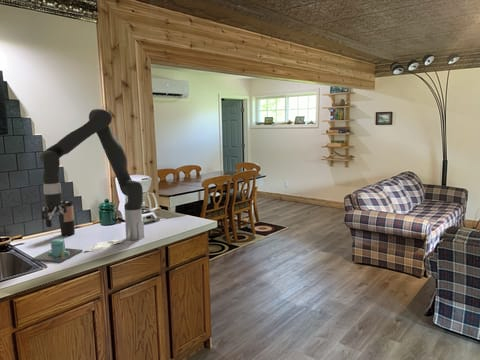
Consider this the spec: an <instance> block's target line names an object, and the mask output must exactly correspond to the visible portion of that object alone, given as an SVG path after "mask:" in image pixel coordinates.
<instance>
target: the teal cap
mask: <svg viewBox="0 0 480 360" xmlns="http://www.w3.org/2000/svg"><path fill="white" fill-rule="evenodd" d="M65 244H66V243H65V239H64V238H53V239H52V240H51V241H50V250H52V251H49V250H48V251H49V252H48V255H53V256H61V254H60V253H64V254H69V251H65V248H66V245H65Z"/></svg>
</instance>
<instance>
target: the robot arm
mask: <svg viewBox="0 0 480 360" xmlns="http://www.w3.org/2000/svg"><path fill="white" fill-rule="evenodd" d="M112 118H113V117H112V113H110V111H109V110H107V109H102V108H94V109H92V110H91V111H90V112H89V113H88V121H87V122H86V123H84V124H83V125H82V126H79V127H78V128H76V129H74V130H73V131H71V132H69V133H68V134H66V135H65V136H64V137H62V138H61V139H60V140H59V141H57V142H56V143H55V144H53V145H51V146H49V147H48V148H47V149H45V150H44V151H43V152H41V154H40V155H39V161H40V162H41V163H42V164H43V173H42V180H43V181H42V182H43V196H44V197H43V198H44V203H45V205H46V206H41V210H40V211H41V219H42V220H45V226H46V228H52V226H53V225H52V218H53V216H54V214H56V213H57V214H58V222H59V224H60V223H63V222H64V213H66V212H67V209H66V202H65V201H64V200H63V196H62V187H61V180H60V179H61V178H60V163H61V162H60V161H61V160H60V159H61V158H62V157H63V156H65V155H68V154H69V153H71V151H73V150H74V149H76V148H77V147H78V146H79V145H81V144H82V143H83V142H84V141H86V140H87V139H89V138H90V137H91V136H93V135H94V134H97V136H98V137H97V138H98V139H99V141H100V143H101V146H102V148H103V151H104V153H105V155H106V158H107V160H108V162H109V164H110V166H111V168H112V170H113V173H114V174H115V177H116V179H117V182H118V186H119V189H120V192H121V194H122V195H124V196H126V197H127V202H126V203H125V204H124V224H125V225H124V226H125V239H126V240H128V241H137V240H138V241H139V240H142V239H143V238H144V237H145V226H144V223H145V222H144V220H143V215H142V213H143V211H142V205H143V201H144V200H143V199H144V198H143V197H144V195H143V194H144V193H143V192H144V191H143V190H144V189H143V186H142V183H141V182H139V181H136V180H133V179H132V178H131V176H130V174H129V170H128V159H127V155H126V153H125V150H124V148H123V146H122V145H121V142H119V141H118V139H117V138H116V137H115V135H114V133H112V131H111V128H110V124H111V123H112V120H113V119H112ZM63 208H64V210H63Z"/></svg>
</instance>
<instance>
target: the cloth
mask: <svg viewBox="0 0 480 360" xmlns="http://www.w3.org/2000/svg"><path fill="white" fill-rule="evenodd" d="M126 240H127V239H126V238H122V239H111V240H107V241H100V242H97V243H95V244H94V245H93V246H91V247H89V248H88V249H86V250H85V251H83V254H85V253H86V252H94V251H95V252H99V251H101V250H105V249H108V248H111V246H113V245H117V244H120V243H124V241H126ZM92 250H93V251H92Z"/></svg>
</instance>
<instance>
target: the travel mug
mask: <svg viewBox="0 0 480 360" xmlns="http://www.w3.org/2000/svg"><path fill="white" fill-rule="evenodd" d="M63 201H65V202H66V209H67V212H66V213H64V222H63V223H60V222H59V227H60V235H61V237H70V236H74V235H75V234H76V232H75V231H76V229H75V214H74V212H75V211H74V204H73V200H68V199H67V200H65V199H64V200H63ZM63 210H64V208H63Z"/></svg>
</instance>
